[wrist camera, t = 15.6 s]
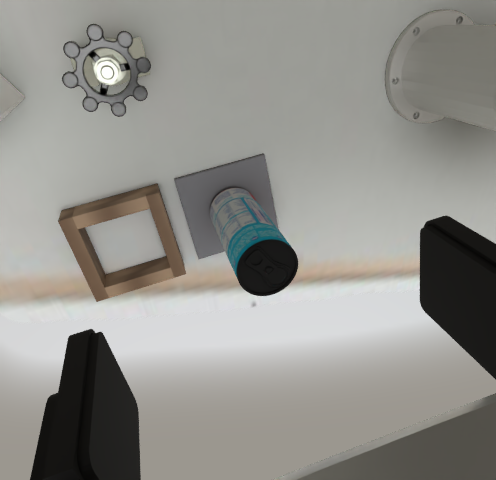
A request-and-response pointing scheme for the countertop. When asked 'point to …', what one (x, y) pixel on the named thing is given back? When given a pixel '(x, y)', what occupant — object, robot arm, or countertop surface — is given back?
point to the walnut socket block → (111, 209)
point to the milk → (8, 97)
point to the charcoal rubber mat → (210, 185)
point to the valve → (107, 68)
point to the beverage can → (252, 243)
